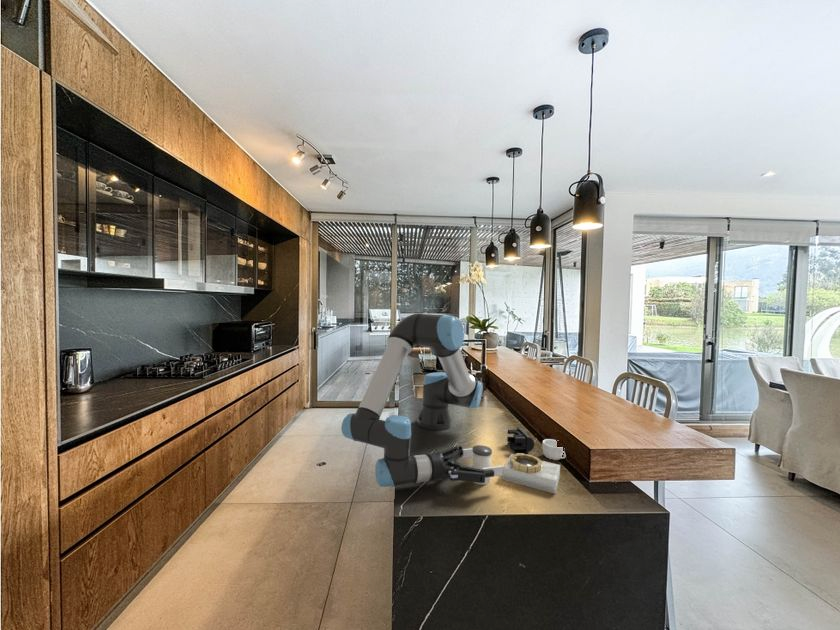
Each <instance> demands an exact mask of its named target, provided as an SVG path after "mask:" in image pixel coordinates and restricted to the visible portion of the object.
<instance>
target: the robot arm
mask: <svg viewBox="0 0 840 630" xmlns="http://www.w3.org/2000/svg"><path fill="white" fill-rule="evenodd" d="M464 328H465V327H464V325H463V322H462V321H461V319H459V317H457V316H455V315H454V316H453V315H449V314H432V313H431V314H429V313H413V314H410V315H407V316H406V317H405V318H403V319H402V320H400V321H399V322H398V323H397V324H396V325H395V326H394V327H393V329H392V331H390V333H389V335H388V337H387V340H386V344H387V346H386V348H385V351H384V352H383V355H382V357H381V359H380V360H379V362H378V365H377V368H376V369H375V372H374V374H373V376H372V377H371V380H370V381H369V384H368V386H367V388H366V390H365V392H364V395H363V396H362V399H361V401H360V403H359V406H357V409H356V412H355V413H351V412H350V413H348V414H347V415H346V416H345V417H344V419H343V420H342V423H341V429H340V430H341V434H342V435H343V436H344V438H346V439H349V440H352V441H353V442H359V443H362V444H363V443H364V444H367V445H371V446H375V447H377V448H382V449H383V457H382V458H379V459H377V460H376V462H375V469H374V470H375V471H374V472H375V480H376V483H377V485H378V486H379V487H382V488H384V487H395V486H402V485H410V484H420V483H426V482H435V481H441V480H443V478H444V476H450V481H451V482H452V481H453V482H455V481H461V482H470V483H474V482H478V483H485V478H487V477H490V478H493V477H495V478H496V477H503V467H504V466H503V465H496V466H495V465H493V466H490V467H485V468H482V470H481V469H477V468H472V466H467V465H463V464H462V463H461V462H458V460H460V458H463V459H468V458H473V451H472V450H473V447H471V448H463V446H461V445H460V446H459V445H458V446H456V445H455V446H452V447H450V448H447V449H445V450H442V451H439V452H435V453H428V454H427V455H426V454H417V455H411V442H412V441H411V439H412V422H411V419H409V417H407V416H405V415H397V414H396V415H394V414H393V415H390V416H388V417H386V419H385V420H383V419H381V417H382V413H383V411H384V409H385V407H386V404H387V401H388V399H389V398H390V395H391V393H392V391H393V388H394V385H395V383H396V381H397V380H398V376H399V374H400V372H401V370H402V367H403V365H404V362H405V361H406V358H407V355H408V354H410V353H412V352H413V350H414V348H415V347H425V348H429V351H430V352H431V354H432V355H434V356H435V357H436V358H438V360H439V362H440V364H441V367H442V369H443V371H444V372H443V371H440V372H439V371H437V372H430V373H427V374H425V376H424V377H423V383H422V406H421V409H420V412H419V414H418V418H417V425H418V426H419V427H421V428H423V429H425V430H432V431H440V430H441V431H442V430H447V429H449V428H451V427H452V418H451V414H450V410H449V405H451V406H457V407H463V408H468V409H478V407H479V405H480V404H481V400H482V396H483V389H484V385H483V382H482V381H480V380H476V379H475V377H474V376H473V375H472V374H471V373H469V371H468V368H467V365H466V362H465V359H464V357H463V353H462V351H461V347H462V346H463V344H464V340H465V332H464V330H465V329H464Z"/></svg>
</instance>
